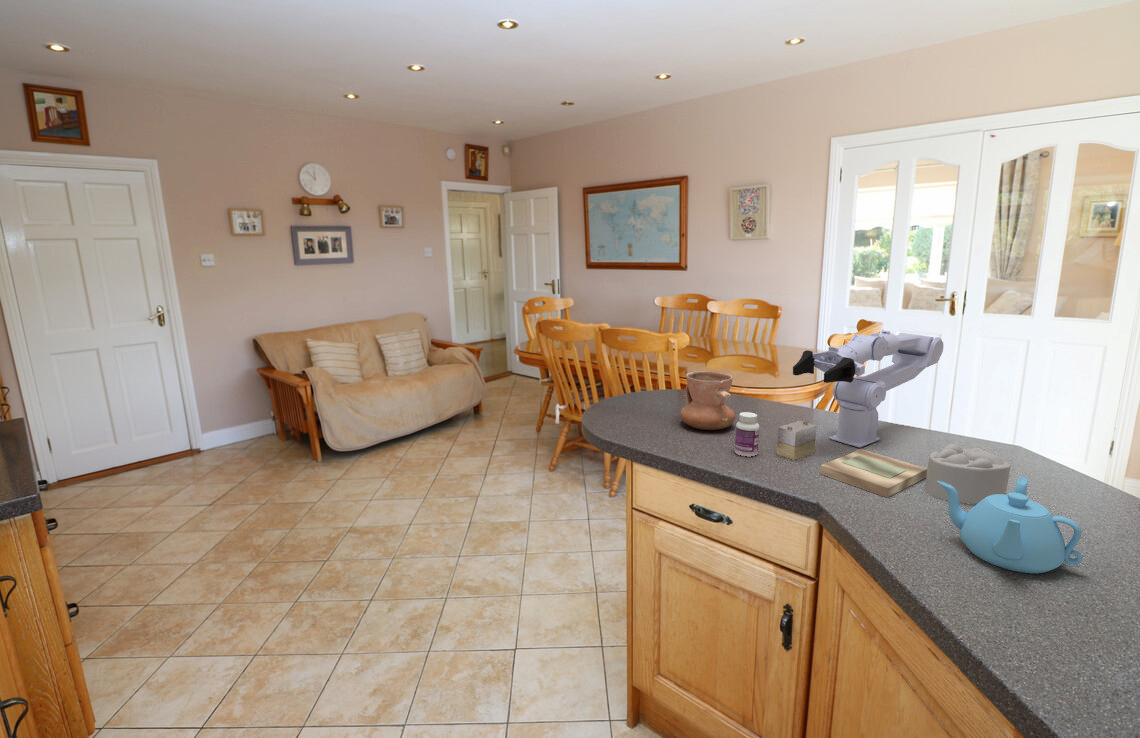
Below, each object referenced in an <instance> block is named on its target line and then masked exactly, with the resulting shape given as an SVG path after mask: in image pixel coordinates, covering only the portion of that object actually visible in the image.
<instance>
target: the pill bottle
mask: <svg viewBox="0 0 1140 738" xmlns="http://www.w3.org/2000/svg"><path fill="white" fill-rule="evenodd" d="M738 420H739V421H737V422H736V424H735V438H734V453H735V454H736V455H737V456H740V455H741V456H740V457H745V456H747V457H746V458H749V457H750V458H752V457H751V456H753V457H755V455H756V456H757V455H758V454H759V443H760V424H759V423H758V422H757V421H758V414H757V413H754V412H750V411H742V412H740V413H739V416H738Z"/></svg>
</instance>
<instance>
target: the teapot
mask: <svg viewBox="0 0 1140 738" xmlns="http://www.w3.org/2000/svg"><path fill="white" fill-rule="evenodd" d="M937 482H938V483H939V484H940V485H941V486H942V487H943V488H944V489H945V490H946V492H947V495H948V501H947V502H948V503H947V504H948V505H947V507H948V508H947V510H948V517H949V518H950V521H951V522H952V524H954V526H955V527H957V529H959V533H958V534H959V536H960V539H961V541H962V542H963V544H964V545H965V546H966V548H967V549H968V550H969V551H970V552H971V553H972V554H974V556H976V557H978V558H979V559H980V560H982V561H984V562H987V563H989V564H992V565H993V566H996V567H999V568H1002V569H1005V570H1009V571H1013V572H1017V573H1024V574H1043V573H1047V572H1051V571H1052V570H1055V569H1057V568H1059V567H1061V566H1062V565H1063V564H1064V562H1065V563H1067V564H1069V565H1079V564H1080V565H1081V563H1082V562H1083V560H1084V559H1083V555H1082V554H1081V552H1080V551H1078V550H1074V549H1075V548H1076V546H1077V545H1078V543H1079V541H1080V540H1081V538H1082V528H1081V527H1080V525H1079V524H1078V523H1077V522H1076V521H1074V520H1073V519H1071V518H1069V517H1067V516H1066V517H1065V516H1062V515H1054V516H1053V515H1052V513H1051V512H1050V511H1049V509H1048V508H1046V507H1045V506H1043V505H1042V504H1041V503H1039V502H1037V501H1036V502H1035V501H1034V500H1031V499H1030V497H1029V496H1027V495H1028V494H1027V490H1028V489H1027V488H1028V485H1029V481H1028V478H1027V476H1020V477H1019V478H1018V479H1017V481H1016V485H1015V487H1014V489H1013V491H1012V492H1008V493H1006V495H1004V494H995V495H990V496H987V497H986V498H984V499H983V500H981V501H980V502H979V503H978V504H976V505H974V506H973V507H972V508H971V509H970V510H969V511H968V512H966V511H965V510H964V509H962V507H961V506H960V503H959V502H958V493H957V491H956V489H955V488H954V487H953V486H951V485H949V484H947V483H944V482H941V481H937ZM1058 523H1062V524H1065V525H1068V526H1069V527H1071V528H1072V529H1073V533H1072V534H1073V535H1072V537H1071V538H1070V540H1069V541H1068V543H1067V544H1065V539H1064V536H1063V534H1062V531H1061V529H1060V527H1059V526H1058ZM1070 555H1073V556H1075V558H1072V557H1070Z"/></svg>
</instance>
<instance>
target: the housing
mask: <svg viewBox="0 0 1140 738" xmlns="http://www.w3.org/2000/svg"><path fill="white" fill-rule="evenodd" d="M817 427H818V426H817V425H816V424H813V423H809V422H806V421H803V420H797V421H795V422H791V423H788V424H783V425H780V426H779V427H778V430H777V431H778V432H777V447H776V455H777V454H778V455H777V456H779V455H781V456H780V457H782V456H783V457H782V458H784V457H787V458H789V459H788V460H790V459H792V460H791V461H793V460H794V461H796V460H795V459H797V460H799V459H798V458H800V459H802V458H804V456H805V457H807V455H808V456H810V455H813V454H815V447H816V439H817V438H816V436H817ZM812 453H813V454H812ZM809 454H810V455H809ZM801 457H802V458H801ZM787 458H786V459H787Z"/></svg>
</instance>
